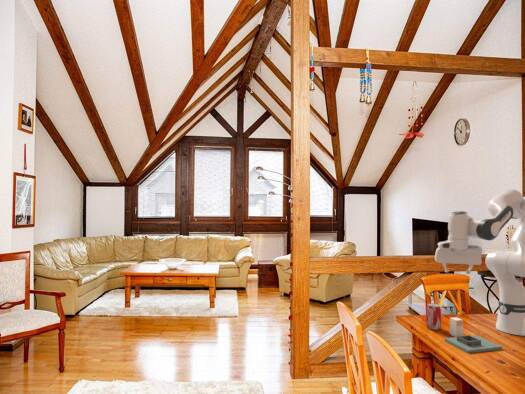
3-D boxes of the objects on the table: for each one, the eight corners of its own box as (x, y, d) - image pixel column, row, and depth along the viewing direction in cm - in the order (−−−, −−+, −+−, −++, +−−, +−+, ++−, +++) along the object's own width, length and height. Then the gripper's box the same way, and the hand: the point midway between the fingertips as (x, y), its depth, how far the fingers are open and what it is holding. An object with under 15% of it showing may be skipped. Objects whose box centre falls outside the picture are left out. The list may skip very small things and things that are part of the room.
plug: (456, 333, 182) (456, 317, 182) (463, 336, 177) (463, 320, 177) (449, 334, 181) (449, 317, 181) (456, 337, 176) (456, 320, 176)
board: (476, 337, 176) (476, 331, 176) (502, 349, 162) (502, 342, 162) (444, 340, 172) (444, 334, 172) (468, 353, 158) (468, 345, 158)
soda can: (442, 331, 185) (442, 307, 185) (427, 330, 186) (427, 306, 186) (439, 326, 192) (439, 303, 192) (424, 325, 193) (424, 302, 193)
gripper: (479, 245, 180) (479, 273, 180) (434, 242, 186) (433, 270, 185) (483, 246, 174) (483, 275, 174) (436, 244, 180) (436, 272, 179)
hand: (457, 272), depth 180 cm, fingers open, 8 cm apart
